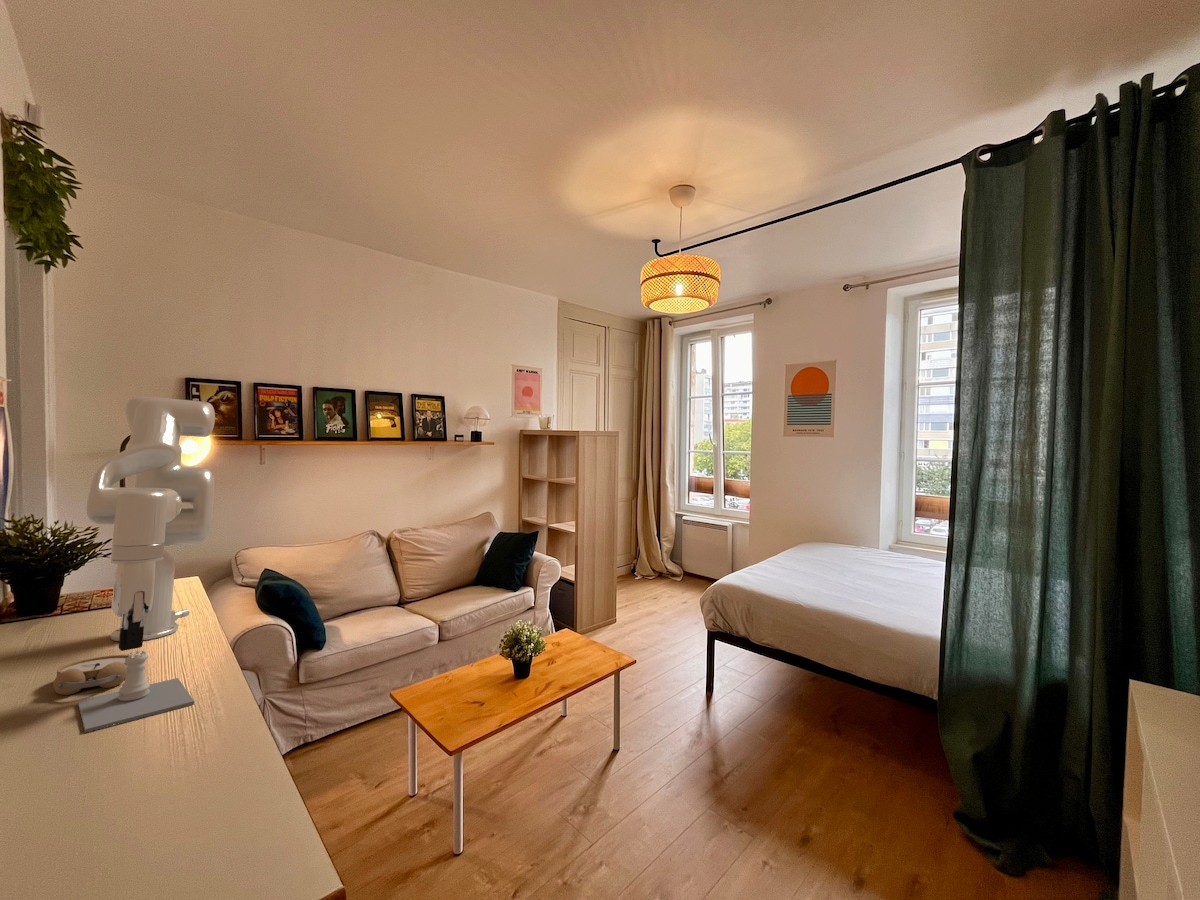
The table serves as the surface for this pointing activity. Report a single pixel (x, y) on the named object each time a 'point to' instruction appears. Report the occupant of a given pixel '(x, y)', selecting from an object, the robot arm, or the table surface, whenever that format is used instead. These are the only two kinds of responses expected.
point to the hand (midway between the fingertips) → (130, 647)
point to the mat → (133, 705)
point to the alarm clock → (91, 674)
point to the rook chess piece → (135, 678)
